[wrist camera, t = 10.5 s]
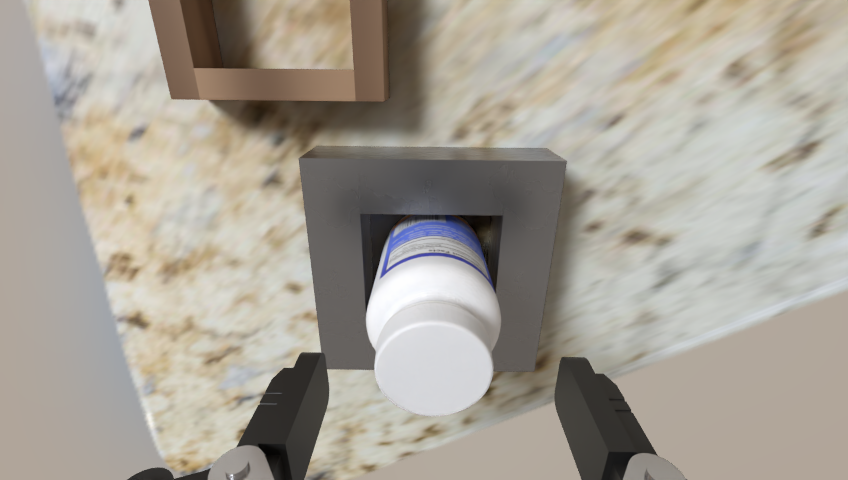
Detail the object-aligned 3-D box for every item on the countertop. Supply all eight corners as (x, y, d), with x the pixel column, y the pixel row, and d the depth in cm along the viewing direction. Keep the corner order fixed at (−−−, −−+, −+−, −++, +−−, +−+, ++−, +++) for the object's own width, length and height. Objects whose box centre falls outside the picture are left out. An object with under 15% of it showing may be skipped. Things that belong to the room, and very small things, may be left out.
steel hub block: (547, 148, 19) (567, 161, 17) (521, 337, 24) (534, 371, 21) (316, 145, 19) (298, 158, 17) (335, 335, 24) (323, 369, 21)
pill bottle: (453, 305, 23) (471, 452, 14) (368, 272, 22) (330, 406, 13) (498, 228, 21) (549, 342, 12) (406, 188, 20) (390, 279, 11)
